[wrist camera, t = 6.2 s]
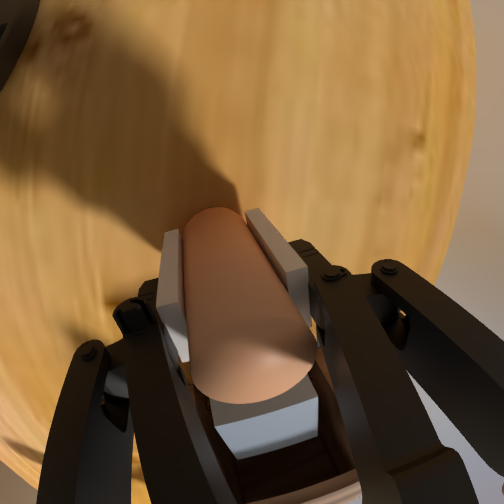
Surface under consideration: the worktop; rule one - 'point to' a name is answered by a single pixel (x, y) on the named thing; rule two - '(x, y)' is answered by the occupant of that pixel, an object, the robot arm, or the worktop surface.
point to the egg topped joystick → (246, 338)
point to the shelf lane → (293, 457)
